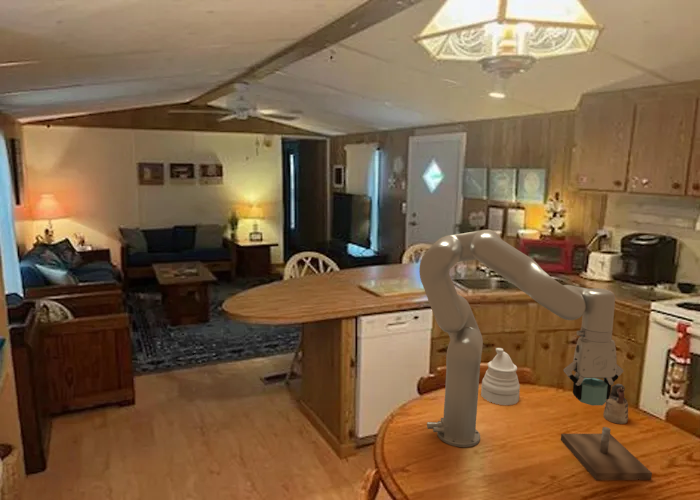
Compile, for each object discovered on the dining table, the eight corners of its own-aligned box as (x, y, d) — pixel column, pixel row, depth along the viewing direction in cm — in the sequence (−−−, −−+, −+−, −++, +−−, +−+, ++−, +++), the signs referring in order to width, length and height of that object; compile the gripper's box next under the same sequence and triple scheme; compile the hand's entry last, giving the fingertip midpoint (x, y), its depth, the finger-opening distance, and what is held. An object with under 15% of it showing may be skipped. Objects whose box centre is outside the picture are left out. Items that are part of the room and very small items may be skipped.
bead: (584, 405, 138) (586, 387, 138) (572, 394, 145) (573, 377, 145) (610, 405, 139) (611, 387, 138) (596, 393, 146) (598, 377, 145)
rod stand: (595, 480, 135) (599, 448, 134) (560, 439, 155) (563, 411, 154) (651, 479, 136) (655, 448, 135) (609, 439, 156) (612, 411, 154)
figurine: (624, 415, 172) (628, 381, 170) (630, 425, 165) (634, 390, 163) (601, 412, 174) (605, 378, 172) (606, 422, 167) (610, 387, 165)
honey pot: (499, 408, 174) (503, 357, 172) (473, 393, 186) (476, 345, 183) (526, 400, 181) (531, 351, 178) (499, 386, 192) (503, 340, 189)
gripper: (571, 339, 135) (566, 403, 138) (636, 339, 136) (630, 403, 139) (558, 330, 143) (554, 391, 145) (620, 330, 143) (614, 391, 146)
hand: (591, 396), depth 142 cm, fingers closed on bead, 7 cm apart
